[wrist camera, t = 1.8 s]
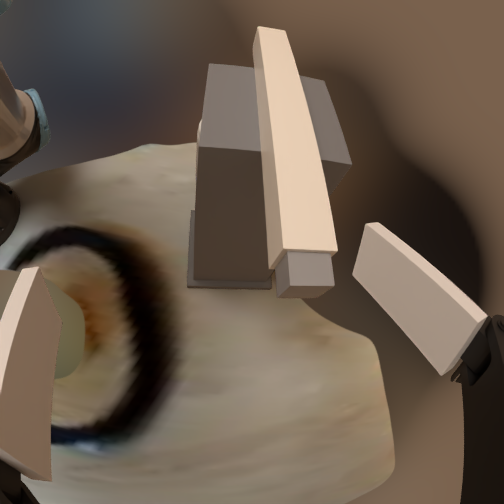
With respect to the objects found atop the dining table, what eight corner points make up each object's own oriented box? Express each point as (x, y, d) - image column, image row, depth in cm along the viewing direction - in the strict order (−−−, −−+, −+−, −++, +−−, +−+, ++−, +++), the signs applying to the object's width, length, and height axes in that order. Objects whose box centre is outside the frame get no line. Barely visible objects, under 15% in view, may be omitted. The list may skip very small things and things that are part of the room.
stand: (187, 287, 48) (183, 156, 19) (191, 213, 54) (200, 58, 25) (269, 289, 51) (365, 176, 22) (265, 217, 56) (330, 78, 27)
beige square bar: (270, 299, 17) (285, 283, 14) (252, 47, 27) (257, 26, 25) (319, 299, 17) (342, 284, 14) (278, 51, 28) (285, 30, 25)
